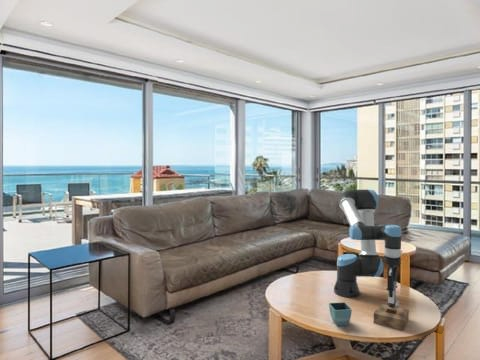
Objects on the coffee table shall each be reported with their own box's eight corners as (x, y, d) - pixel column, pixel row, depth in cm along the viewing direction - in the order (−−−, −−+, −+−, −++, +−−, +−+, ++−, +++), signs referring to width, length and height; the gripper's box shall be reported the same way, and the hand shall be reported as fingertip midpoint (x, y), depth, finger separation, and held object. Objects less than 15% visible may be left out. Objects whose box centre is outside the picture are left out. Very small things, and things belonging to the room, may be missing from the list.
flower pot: (328, 319, 172) (328, 302, 171) (344, 318, 172) (345, 301, 172) (334, 328, 163) (334, 310, 162) (351, 327, 164) (352, 309, 163)
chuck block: (373, 322, 168) (373, 313, 168) (384, 304, 189) (384, 295, 189) (404, 330, 160) (404, 320, 160) (411, 310, 181) (411, 301, 181)
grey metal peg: (387, 306, 168) (387, 281, 168) (388, 304, 171) (389, 279, 171) (394, 308, 167) (395, 282, 166) (396, 305, 169) (396, 280, 169)
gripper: (397, 261, 159) (397, 309, 160) (403, 253, 172) (402, 297, 173) (381, 258, 163) (380, 305, 164) (387, 251, 177) (387, 294, 178)
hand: (391, 301), depth 169 cm, fingers closed on grey metal peg, 3 cm apart
